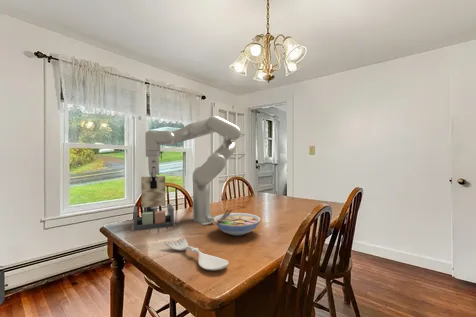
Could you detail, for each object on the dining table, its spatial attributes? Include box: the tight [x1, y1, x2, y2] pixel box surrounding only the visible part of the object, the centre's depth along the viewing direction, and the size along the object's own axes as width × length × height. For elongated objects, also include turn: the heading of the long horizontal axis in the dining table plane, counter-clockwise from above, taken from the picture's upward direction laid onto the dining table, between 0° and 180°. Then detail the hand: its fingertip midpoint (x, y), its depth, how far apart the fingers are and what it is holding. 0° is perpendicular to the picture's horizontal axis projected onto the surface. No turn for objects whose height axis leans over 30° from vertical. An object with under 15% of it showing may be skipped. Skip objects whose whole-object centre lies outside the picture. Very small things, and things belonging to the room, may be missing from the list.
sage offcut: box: [141, 211, 153, 225], centre depth 119 cm, size 5×4×7 cm
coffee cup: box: [143, 206, 158, 217], centre depth 139 cm, size 10×10×15 cm
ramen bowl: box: [213, 209, 261, 237], centre depth 113 cm, size 25×23×8 cm
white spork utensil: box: [164, 236, 230, 271], centre depth 86 cm, size 9×32×4 cm, turn 45°
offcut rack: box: [130, 203, 177, 232], centre depth 123 cm, size 21×14×10 cm, turn 113°
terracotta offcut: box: [155, 210, 166, 224], centre depth 122 cm, size 5×4×7 cm
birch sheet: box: [140, 175, 166, 209], centre depth 125 cm, size 12×2×16 cm, turn 113°
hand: (153, 187), depth 125 cm, fingers closed on birch sheet, 2 cm apart
